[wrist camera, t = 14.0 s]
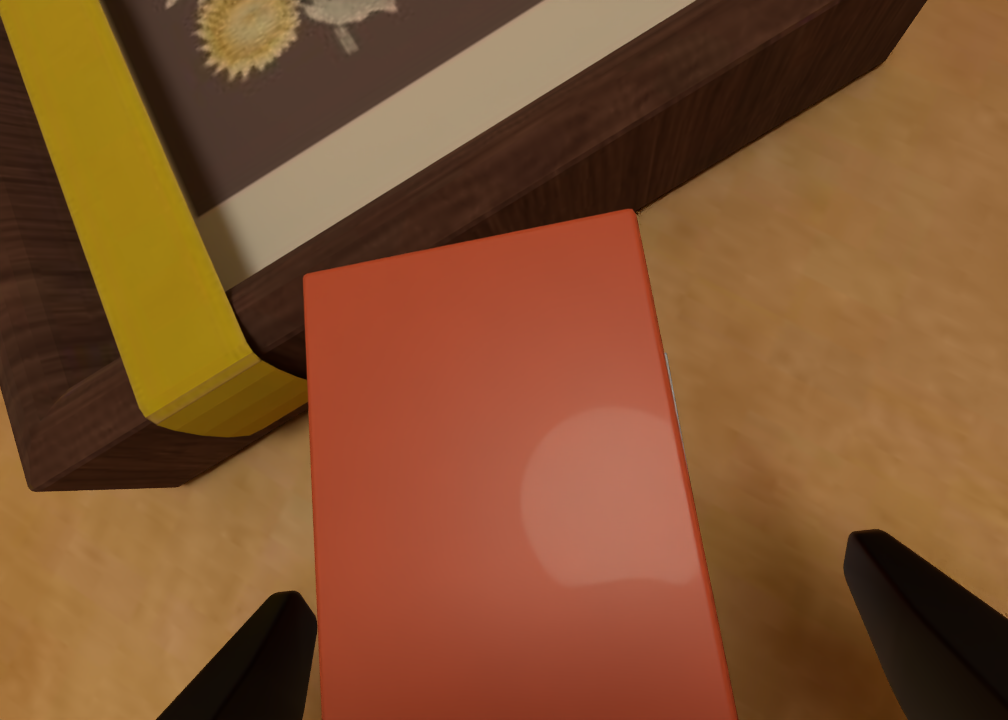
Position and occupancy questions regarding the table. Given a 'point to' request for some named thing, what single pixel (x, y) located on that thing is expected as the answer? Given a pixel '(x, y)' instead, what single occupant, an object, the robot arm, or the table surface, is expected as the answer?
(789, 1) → the picture frame
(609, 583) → the orange upright bar
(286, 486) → the table surface
